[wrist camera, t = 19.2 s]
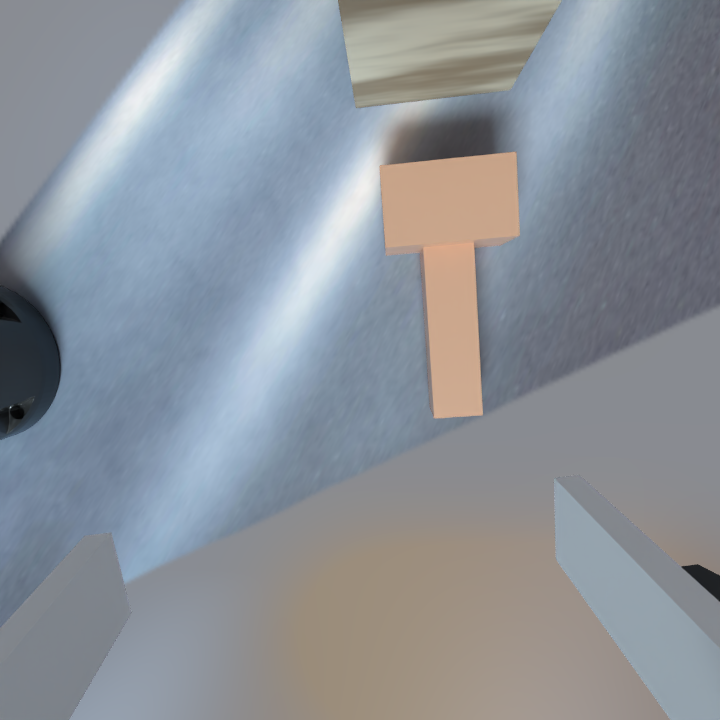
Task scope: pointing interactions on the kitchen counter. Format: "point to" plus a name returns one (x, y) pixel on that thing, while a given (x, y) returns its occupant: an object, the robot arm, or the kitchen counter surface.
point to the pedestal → (438, 46)
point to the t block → (450, 257)
